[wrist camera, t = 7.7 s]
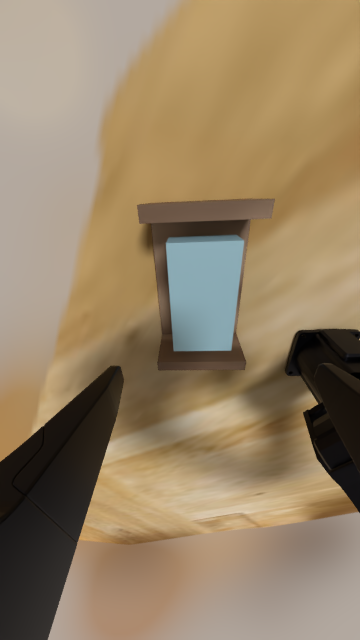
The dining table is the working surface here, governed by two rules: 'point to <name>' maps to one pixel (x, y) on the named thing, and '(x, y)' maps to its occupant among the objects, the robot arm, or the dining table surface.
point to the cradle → (198, 222)
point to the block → (203, 290)
